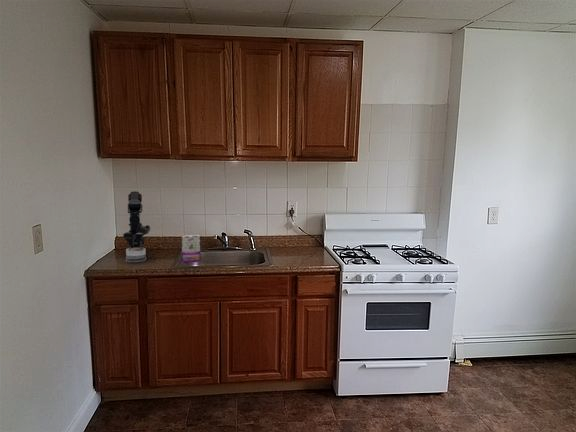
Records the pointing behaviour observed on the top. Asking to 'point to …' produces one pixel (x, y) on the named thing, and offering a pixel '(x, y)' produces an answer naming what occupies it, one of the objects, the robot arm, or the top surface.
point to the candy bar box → (191, 248)
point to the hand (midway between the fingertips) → (135, 246)
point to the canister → (135, 255)
